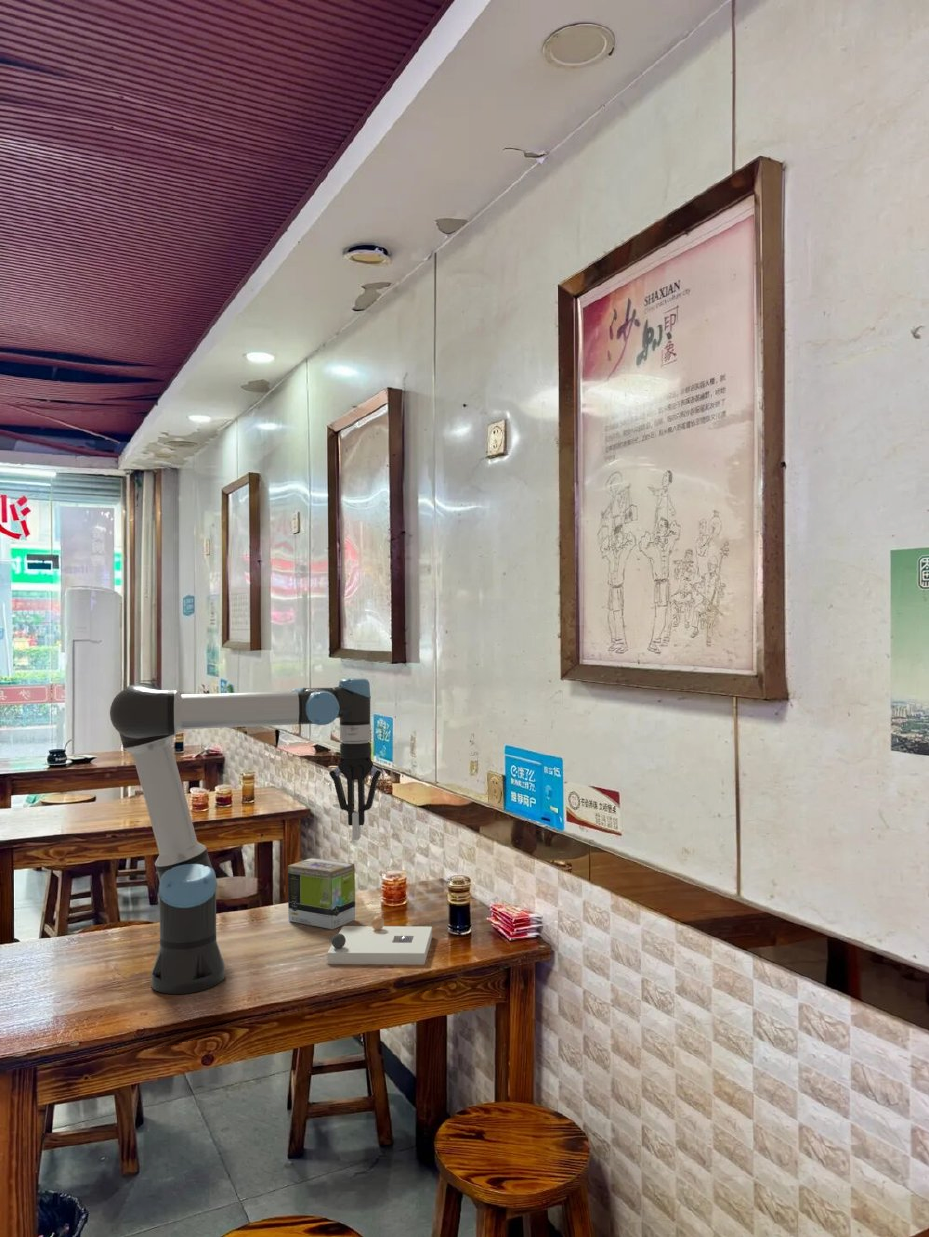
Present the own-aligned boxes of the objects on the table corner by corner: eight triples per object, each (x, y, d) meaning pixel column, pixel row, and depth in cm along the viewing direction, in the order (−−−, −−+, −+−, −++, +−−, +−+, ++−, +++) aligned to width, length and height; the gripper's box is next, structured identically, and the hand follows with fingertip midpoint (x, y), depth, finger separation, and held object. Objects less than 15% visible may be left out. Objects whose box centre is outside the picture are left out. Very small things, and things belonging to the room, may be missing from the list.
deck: (327, 963, 194) (327, 952, 194) (343, 936, 212) (343, 926, 212) (424, 964, 193) (424, 953, 193) (432, 936, 211) (432, 926, 211)
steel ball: (397, 938, 201) (411, 938, 200) (399, 933, 204) (412, 933, 204) (398, 952, 200) (411, 952, 200) (399, 947, 204) (413, 947, 203)
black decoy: (330, 950, 195) (330, 936, 195) (333, 945, 198) (333, 931, 199) (344, 950, 195) (344, 936, 195) (346, 945, 198) (346, 931, 198)
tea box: (356, 919, 225) (356, 862, 225) (331, 931, 216) (331, 871, 216) (312, 911, 232) (312, 855, 233) (286, 921, 224) (286, 864, 224)
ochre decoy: (370, 931, 207) (369, 918, 207) (372, 927, 211) (372, 914, 211) (383, 931, 207) (383, 918, 207) (385, 927, 210) (385, 914, 210)
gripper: (325, 743, 207) (326, 842, 207) (379, 743, 207) (380, 842, 206) (332, 740, 215) (333, 835, 214) (384, 739, 214) (385, 834, 214)
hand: (356, 838), depth 210 cm, fingers closed
